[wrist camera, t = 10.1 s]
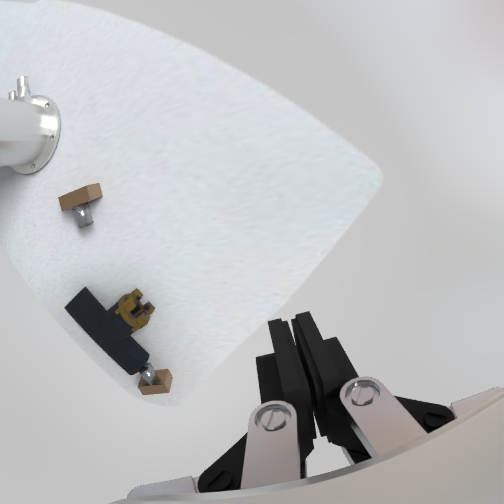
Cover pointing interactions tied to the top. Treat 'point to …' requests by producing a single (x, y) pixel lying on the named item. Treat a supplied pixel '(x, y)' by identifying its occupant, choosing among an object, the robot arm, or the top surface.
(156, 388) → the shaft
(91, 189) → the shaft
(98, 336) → the pipe connector
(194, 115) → the top surface
